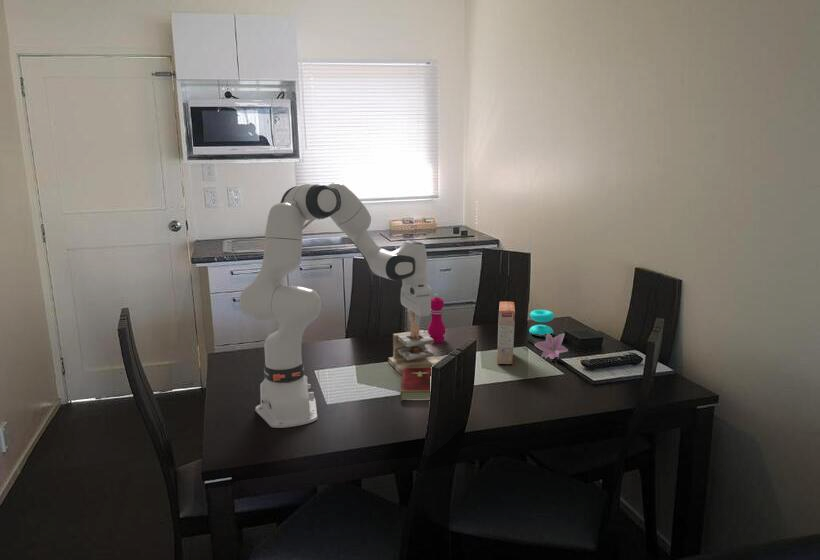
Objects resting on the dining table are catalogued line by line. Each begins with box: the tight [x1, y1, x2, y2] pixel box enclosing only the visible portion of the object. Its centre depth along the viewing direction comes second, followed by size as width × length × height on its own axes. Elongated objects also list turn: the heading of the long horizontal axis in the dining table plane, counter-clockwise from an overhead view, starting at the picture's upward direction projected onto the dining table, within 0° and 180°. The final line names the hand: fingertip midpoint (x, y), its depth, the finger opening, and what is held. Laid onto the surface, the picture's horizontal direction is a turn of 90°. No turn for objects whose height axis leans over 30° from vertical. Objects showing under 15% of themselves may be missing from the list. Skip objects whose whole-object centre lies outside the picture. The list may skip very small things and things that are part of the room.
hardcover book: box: [399, 368, 431, 401], centre depth 210 cm, size 12×21×4 cm, turn 179°
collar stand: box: [387, 329, 440, 376], centre depth 230 cm, size 14×16×11 cm
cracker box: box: [496, 301, 516, 365], centre depth 235 cm, size 14×6×21 cm, turn 171°
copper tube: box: [409, 310, 420, 353], centre depth 229 cm, size 3×3×18 cm
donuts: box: [529, 309, 555, 335], centre depth 265 cm, size 10×10×10 cm
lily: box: [533, 333, 569, 360], centre depth 237 cm, size 12×12×10 cm
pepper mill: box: [427, 293, 446, 344], centre depth 257 cm, size 7×7×20 cm
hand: (414, 322), depth 228 cm, fingers closed on copper tube, 3 cm apart
